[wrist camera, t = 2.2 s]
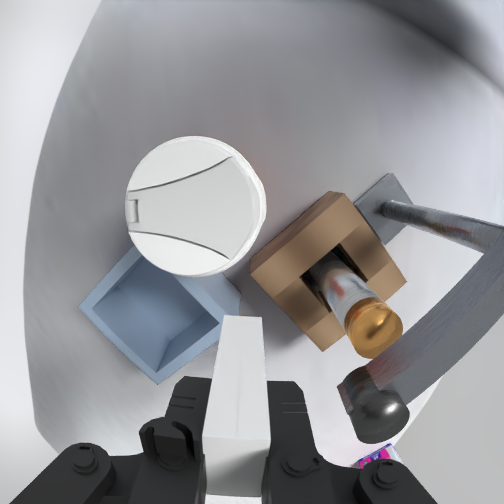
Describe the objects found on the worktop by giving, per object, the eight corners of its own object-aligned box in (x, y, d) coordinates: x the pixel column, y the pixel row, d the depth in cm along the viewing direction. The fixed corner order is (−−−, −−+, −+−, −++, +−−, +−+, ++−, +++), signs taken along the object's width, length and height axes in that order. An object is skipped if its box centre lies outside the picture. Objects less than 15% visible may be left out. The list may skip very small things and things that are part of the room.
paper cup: (178, 236, 29) (121, 283, 16) (176, 156, 28) (114, 139, 14) (259, 235, 29) (266, 285, 16) (260, 154, 28) (267, 130, 14)
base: (387, 173, 28) (392, 173, 27) (413, 211, 29) (419, 213, 28) (352, 204, 29) (356, 205, 27) (380, 242, 29) (385, 245, 28)
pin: (324, 242, 29) (387, 299, 15) (342, 264, 30) (410, 334, 15) (300, 261, 30) (343, 336, 15) (319, 283, 30) (370, 367, 16)
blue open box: (171, 218, 29) (148, 230, 22) (240, 292, 31) (237, 324, 24) (109, 282, 30) (78, 307, 24) (173, 347, 32) (157, 384, 25)
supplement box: (389, 441, 37) (414, 495, 25) (399, 455, 38) (422, 504, 26) (357, 459, 37) (375, 515, 26) (369, 472, 38) (386, 522, 27)
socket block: (329, 191, 28) (344, 193, 23) (385, 266, 30) (407, 281, 25) (250, 258, 30) (249, 274, 25) (313, 327, 32) (322, 352, 27)
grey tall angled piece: (391, 193, 27) (565, 229, 7) (404, 213, 27) (572, 268, 8) (291, 280, 29) (351, 444, 9) (307, 298, 29) (377, 464, 10)
